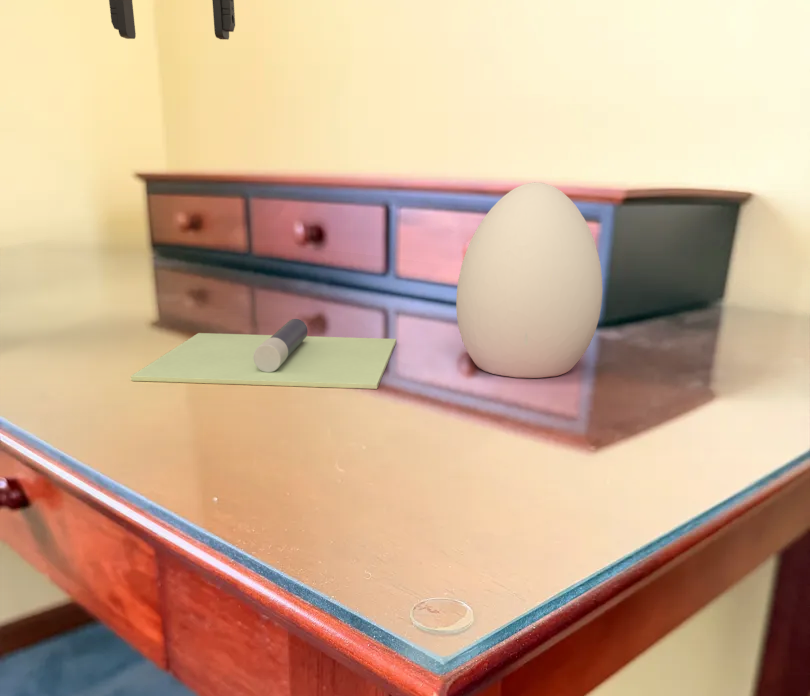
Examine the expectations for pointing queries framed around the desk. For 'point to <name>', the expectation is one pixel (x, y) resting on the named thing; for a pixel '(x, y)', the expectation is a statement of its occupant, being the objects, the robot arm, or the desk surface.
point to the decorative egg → (530, 285)
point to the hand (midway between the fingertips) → (174, 38)
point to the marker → (280, 345)
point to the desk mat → (305, 366)
